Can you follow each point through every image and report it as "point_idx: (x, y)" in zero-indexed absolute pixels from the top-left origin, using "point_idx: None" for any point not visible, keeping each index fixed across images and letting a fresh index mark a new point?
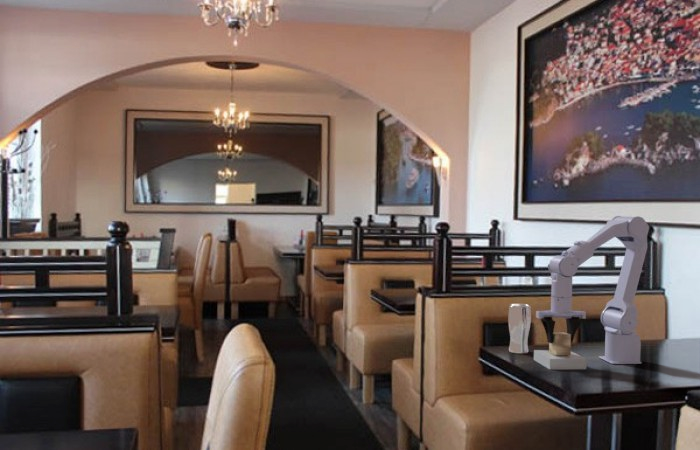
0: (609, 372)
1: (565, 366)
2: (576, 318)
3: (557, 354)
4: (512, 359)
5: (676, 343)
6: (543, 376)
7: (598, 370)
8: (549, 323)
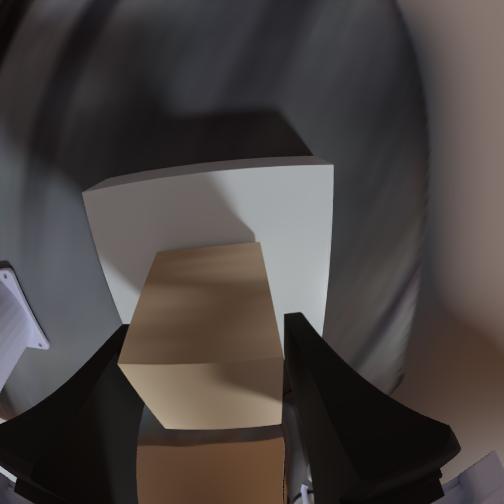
0: (34, 137)
1: (220, 163)
2: (36, 493)
3: (250, 245)
4: (388, 315)
5: None
6: (389, 43)
7: (63, 162)
8: (430, 431)
